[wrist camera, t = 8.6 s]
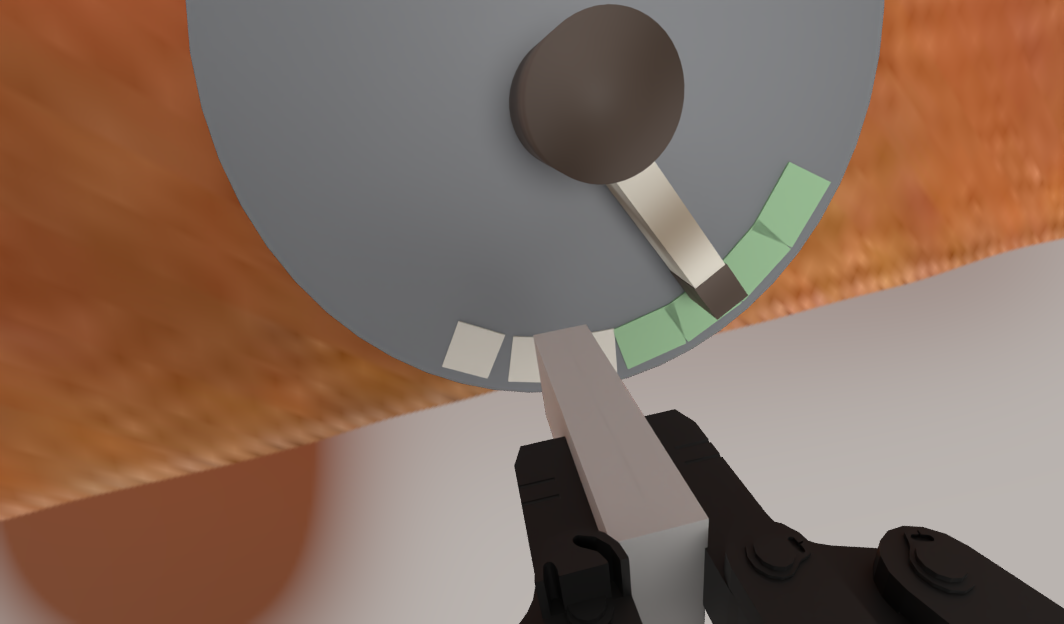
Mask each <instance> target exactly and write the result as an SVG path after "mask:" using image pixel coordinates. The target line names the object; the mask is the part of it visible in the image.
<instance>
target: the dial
mask: <svg viewBox="0 0 1064 624" xmlns="http://www.w3.org/2000/svg"><path fill="white" fill-rule="evenodd" d="M605 4H616V5H623V6H628V7H631V8H634V9H636V10H639V11H641V12H643V13H644V14H646V15H648V16H650V17H651V18H652V19H653V20H655V21H656V22H657V23H658V24H659V25H660V26H661V27H662V28H663V29H664V30H665V31H666V33H667V34H668V36H669V37H670V39H671V40H672V42H673V44H674V46H675V48H676V50H677V52H678V55H679V58H680V61H681V65H682V69H683V74H684V84H685V86H684V103H683V109H682V113H681V117H680V121H679V123H678V126H677V129H676V131H675V133H674V135H673V137H672V139H671V141H670V143H669V144H668V146H667V147H666V149H665V150H664V151H663V153H662V154H661V155H660V156H659V157H658V158H657V159H656V160H655V163H656V164H657V165H658V167H659V168H660V170H661V171H662V173H663V174H664V176H665V177H666V179H667V180H668V182H669V183H670V184H671V186H672V187H673V189H674V190H675V192H676V193H677V195H678V196H679V198H680V199H681V200H682V202H683V203H684V205H685V206H686V208H687V209H688V211H689V212H690V214H691V215H692V217H693V218H694V219H695V221H696V222H697V224H698V225H699V227H700V228H701V230H702V231H703V233H704V234H705V236H706V237H707V238H708V240H709V241H710V243H711V244H712V246H713V247H714V249H715V250H716V252H717V253H718V254H719V256H720V257H721V259H722V260H723V262H724V263H726V264H727V265H728V266H729V268H730V269H731V271H732V272H733V274H734V275H735V277H736V278H737V280H738V281H739V282H740V284H741V285H742V287H743V288H744V290H745V291H746V293H747V294H748V296H747V297H746V298H745V299H743V300H742V301H741V302H739V303H738V304H737V305H736V306H734V307H733V308H732V309H731V310H729V311H728V312H727V313H725V314H724V315H723V316H722V317H720V318H719V319H718V320H717V319H716V318H714V317H713V316H712V315H711V314H709V313H708V312H707V311H706V310H704V309H703V308H702V307H700V306H699V305H698V304H697V303H695V302H694V301H693V300H692V299H691V298H690V297H689V296H688V295H687V293H686V292H685V291H684V289H683V288H682V287H681V285H680V284H679V283H678V281H677V280H676V279H675V277H674V276H673V275H672V273H671V272H670V271H671V270H670V269H669V268H668V266H667V265H666V264H665V262H664V261H663V260H662V258H661V257H660V256H659V254H658V253H657V252H656V250H655V249H654V248H653V246H652V245H651V244H650V242H649V241H648V240H647V238H646V237H645V236H644V234H643V233H642V232H641V231H640V229H639V228H638V227H637V225H636V224H635V223H634V221H633V220H632V219H631V217H630V216H629V215H628V213H627V212H626V211H625V209H624V208H623V207H622V205H621V204H620V203H619V201H618V200H617V199H616V198H615V196H614V195H613V194H612V192H611V191H610V190H609V188H608V187H607V186H606V184H604V185H596V184H588V183H584V182H580V181H577V180H575V179H572V178H570V177H568V176H566V175H564V174H563V173H561V172H559V171H557V170H555V169H554V168H552V167H550V166H548V165H547V164H545V163H543V162H541V161H540V160H538V159H536V158H535V157H534V156H533V155H531V154H530V153H529V152H528V151H527V150H526V149H525V147H524V146H523V145H522V143H521V142H520V140H519V139H518V137H517V135H516V133H515V130H514V128H513V125H512V121H511V117H510V110H509V96H510V88H511V84H512V80H513V77H514V75H515V72H516V70H517V68H518V66H519V64H520V63H521V61H522V60H523V58H524V57H525V56H526V55H527V53H528V52H529V51H530V50H531V49H532V48H533V47H535V46H536V45H537V44H538V43H539V42H540V41H541V40H542V39H543V38H545V37H546V36H547V35H548V34H549V33H550V32H551V31H552V30H554V29H555V28H556V27H557V26H558V25H559V24H561V23H562V22H563V21H564V20H565V19H567V18H568V17H570V16H572V15H573V14H575V13H577V12H579V11H581V10H583V9H586V8H589V7H593V6H596V5H605ZM186 8H187V21H188V33H189V45H190V54H191V59H192V64H193V69H194V73H195V78H196V83H197V88H198V92H199V97H200V102H201V107H202V110H203V113H204V116H205V119H206V122H207V125H208V128H209V131H210V134H211V137H212V140H213V143H214V146H215V149H216V152H217V155H218V158H219V160H220V162H221V164H222V166H223V169H224V171H225V173H226V175H227V177H228V179H229V181H230V183H231V185H232V187H233V189H234V192H235V194H236V196H237V198H238V200H239V202H240V204H241V206H242V208H243V209H244V211H245V212H246V214H247V216H248V217H249V219H250V220H251V222H252V223H253V225H254V227H255V228H256V230H257V231H258V233H259V235H260V236H261V238H262V239H263V241H264V242H265V244H266V246H267V247H268V248H269V249H270V251H271V252H272V253H273V254H274V256H275V257H276V258H277V259H278V261H279V262H280V263H281V264H282V266H283V267H284V268H285V269H286V271H287V272H288V273H289V274H290V275H291V277H292V278H293V279H294V280H295V282H296V283H297V284H298V285H299V286H300V287H301V288H302V289H304V290H305V291H306V292H307V293H308V294H309V295H310V296H311V297H312V298H313V299H314V300H315V301H316V302H317V303H318V304H319V305H320V306H321V307H322V308H323V309H324V310H325V311H326V312H327V313H329V314H330V315H331V316H332V317H334V318H335V319H336V320H338V321H339V322H340V323H341V324H343V325H344V326H345V327H347V328H348V329H349V330H351V331H352V332H353V333H354V334H356V335H357V336H358V337H360V338H362V339H363V340H365V341H367V342H368V343H370V344H372V345H373V346H375V347H377V348H378V349H380V350H382V351H383V352H385V353H387V354H388V355H390V356H392V357H394V358H396V359H398V360H400V361H402V362H405V363H407V364H409V365H411V366H413V367H416V368H418V369H420V370H422V371H425V372H427V373H430V374H433V375H436V376H440V377H443V378H446V379H449V380H452V381H455V382H458V383H462V384H467V385H473V386H478V387H483V388H488V389H493V390H503V391H517V392H542V387H541V381H540V375H539V369H538V362H537V356H536V350H535V344H534V337H533V335H536V334H541V333H546V332H551V331H556V330H560V329H565V328H570V327H575V326H580V325H584V324H586V325H587V326H588V328H589V330H590V331H591V333H592V334H593V336H594V338H595V339H596V341H597V342H598V344H599V345H600V347H601V349H602V350H603V352H604V353H605V355H606V357H607V358H608V360H609V361H610V363H611V364H612V366H613V368H614V369H615V371H616V372H617V374H618V376H619V377H620V379H625V378H629V377H631V376H634V375H637V374H639V373H642V372H644V371H647V370H650V369H652V368H655V367H657V366H660V365H662V364H664V363H666V362H668V361H669V360H672V359H674V358H676V357H678V356H679V355H681V354H683V353H685V352H687V351H689V350H691V349H693V348H694V347H696V346H697V345H699V344H700V343H702V342H703V341H705V340H706V339H708V338H709V337H711V336H712V335H714V334H716V333H717V332H719V331H720V330H721V329H723V328H724V327H725V326H726V325H728V324H729V323H730V322H731V321H732V320H734V319H735V318H736V317H737V316H739V315H740V314H741V313H742V312H744V311H745V310H746V309H747V308H748V307H749V306H750V305H751V304H752V303H753V302H754V301H755V300H756V299H757V298H758V297H759V296H761V295H762V294H763V293H764V292H765V291H766V290H767V289H768V288H769V287H770V286H771V285H772V284H773V283H774V281H775V280H776V279H777V278H778V277H779V275H780V274H781V273H782V272H783V271H784V269H785V268H786V267H787V266H788V265H789V263H790V262H791V261H792V260H793V259H794V257H795V256H796V255H797V254H798V252H799V251H800V249H801V248H802V246H803V245H804V243H805V242H806V241H807V239H808V238H809V236H810V235H811V233H812V232H813V230H814V229H815V227H816V226H817V224H818V223H819V221H820V220H821V218H822V216H823V214H824V212H825V210H826V209H827V207H828V205H829V203H830V201H831V199H832V198H833V196H834V194H835V192H836V190H837V188H838V186H839V185H840V182H841V180H842V178H843V175H844V173H845V171H846V168H847V166H848V163H849V161H850V159H851V156H852V154H853V152H854V149H855V147H856V144H857V141H858V138H859V135H860V132H861V128H862V125H863V122H864V119H865V115H866V112H867V109H868V106H869V103H870V98H871V93H872V88H873V84H874V79H875V74H876V69H877V64H878V59H879V53H880V43H881V33H882V23H883V13H884V0H186Z"/></svg>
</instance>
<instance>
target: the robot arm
mask: <svg viewBox="0 0 1064 624" xmlns="http://www.w3.org/2000/svg"><path fill="white" fill-rule="evenodd" d="M533 337H534V344H535V350H536V356H537V362H538V369H539V375H540V381H541V387H542V393H543V399H544V406H545V412H546V416H547V420H548V422H549V426H550V429H551V432H552V435H553V438H554V439H551V440H547V441H542V442H538V443H533V444H529V445H525V446H521V447H520V450H519V453H518V456H517V460H516V462H515V472H516V477H517V482H518V487H519V493H520V498H521V503H522V509H523V514H524V520H525V524H526V530H527V535H528V541H529V546H530V551H531V557H532V562H533V567H534V573H535V592H534V598H533V601H532V603H531V605H530V608H529V610H528V612H527V614H526V615H525V617H524V618H523V619H522V621H521V622H520V623H519V624H704V622H705V621H704V620H705V610H706V612H707V614H708V616H709V617H710V619H711V621H712V623H713V624H1064V608H1062V607H1061V606H1059V605H1058V604H1056V603H1055V602H1053V601H1052V600H1050V599H1049V598H1047V597H1046V596H1044V595H1043V594H1041V593H1039V592H1038V591H1036V590H1035V589H1033V588H1032V587H1030V586H1029V585H1027V584H1026V583H1024V582H1023V581H1021V580H1020V579H1018V578H1016V577H1015V576H1013V575H1012V574H1010V573H1009V572H1007V571H1006V570H1004V569H1003V568H1001V567H999V566H998V565H997V564H995V563H994V562H992V561H991V560H989V559H988V558H986V557H984V556H983V555H981V554H980V553H978V552H977V551H975V550H974V549H972V548H971V547H969V546H967V545H965V544H964V543H962V542H960V541H958V540H956V539H954V538H952V537H950V536H948V535H947V534H944V533H941V532H938V531H934V530H931V529H927V528H924V527H913V526H901V527H898V528H895V529H892V530H889V531H887V533H886V534H885V535H884V536H883V538H882V539H881V540H880V543H879V546H878V548H864V547H847V546H831V545H824V544H818V543H814V542H811V541H808V540H807V539H806V538H805V537H803V536H802V535H801V534H800V533H799V532H797V531H795V530H793V529H791V528H789V527H787V526H786V525H784V524H782V523H778V522H774V521H773V520H772V519H771V518H770V517H769V516H768V515H767V514H766V512H765V511H764V510H763V509H762V507H761V506H760V505H759V504H758V502H757V501H756V500H755V499H754V497H753V496H752V495H751V493H750V492H749V491H748V490H747V488H746V487H745V486H744V484H743V483H742V482H741V480H740V479H739V478H738V477H737V475H736V474H735V473H734V471H733V470H732V469H731V468H730V466H729V465H728V464H727V462H726V461H725V460H724V459H723V457H720V454H719V452H718V451H717V450H716V448H715V447H714V446H713V444H712V443H711V442H710V443H709V441H708V438H707V437H706V436H705V434H704V433H703V432H702V430H701V429H700V428H699V426H698V425H697V424H696V423H695V422H694V421H693V420H691V419H690V418H688V417H686V416H685V415H683V414H681V413H680V412H678V411H677V410H675V409H674V410H670V411H666V412H661V413H657V414H652V415H648V416H644V415H643V414H642V412H641V411H640V409H639V407H638V406H637V404H636V402H635V401H634V399H633V398H632V396H631V395H630V393H629V391H628V390H627V388H626V387H625V385H624V383H623V382H622V380H621V379H620V377H619V376H618V374H617V372H616V371H615V369H614V368H613V366H612V364H611V363H610V361H609V360H608V358H607V357H606V355H605V353H604V352H603V350H602V349H601V347H600V345H599V344H598V342H597V341H596V339H595V338H594V336H593V334H592V333H591V331H590V330H589V328H588V326H587V325H586V324H584V325H580V326H575V327H570V328H565V329H560V330H556V331H551V332H546V333H541V334H536V335H533Z"/></svg>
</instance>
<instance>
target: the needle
mask: <svg viewBox="0 0 1064 624" xmlns="http://www.w3.org/2000/svg"><path fill="white" fill-rule="evenodd" d="M684 86H685V84H684V74H683V69H682V65H681V61H680V58H679V55H678V52H677V50H676V48H675V46H674V44H673V42H672V40H671V39H670V37H669V36H668V34H667V33H666V31H665V30H664V29H663V28H662V27H661V26H660V25H659V24H658V23H657V22H656V21H655V20H653V19H652V18H651V17H650V16H648V15H646V14H644V13H643V12H641V11H639V10H636V9H634V8H631V7H628V6H623V5H616V4H605V5H596V6H593V7H589V8H586V9H583V10H581V11H579V12H577V13H575V14H573V15H572V16H570V17H568V18H567V19H565V20H564V21H563V22H562V23H561V24H559V25H558V26H557V27H556V28H555V29H554V30H552V31H551V32H550V33H549V34H548V35H547V36H546V37H545V38H543V39H542V40H541V41H540V42H539V43H538V44H537V45H536V46H535V47H533V48H532V49H531V50H530V51H529V52H528V53H527V55H526V56H525V57H524V58H523V60H522V61H521V63H520V64H519V66H518V68H517V70H516V72H515V75H514V77H513V80H512V84H511V88H510V96H509V110H510V117H511V121H512V125H513V128H514V130H515V133H516V135H517V137H518V139H519V140H520V142H521V143H522V145H523V146H524V147H525V149H526V150H527V151H528V152H529V153H530V154H531V155H533V156H534V157H535V158H536V159H538V160H540V161H541V162H543V163H545V164H547V165H548V166H550V167H552V168H554V169H555V170H557V171H559V172H561V173H563V174H564V175H566V176H568V177H570V178H572V179H575V180H577V181H580V182H584V183H588V184H596V185H604V184H606V186H607V187H608V188H609V190H610V191H611V192H612V194H613V195H614V196H615V198H616V199H617V200H618V201H619V203H620V204H621V205H622V207H623V208H624V209H625V211H626V212H627V213H628V215H629V216H630V217H631V219H632V220H633V221H634V223H635V224H636V225H637V227H638V228H639V229H640V231H641V232H642V233H643V234H644V236H645V237H646V238H647V240H648V241H649V242H650V244H651V245H652V246H653V248H654V249H655V250H656V252H657V253H658V254H659V256H660V257H661V258H662V260H663V261H664V262H665V264H666V265H667V266H668V268H669V269H670V270H671V271H670V272H671V273H672V275H673V276H674V277H675V279H676V280H677V281H678V283H679V284H680V285H681V287H682V288H683V289H684V291H685V292H686V293H687V295H688V296H689V297H690V298H691V299H692V300H693V301H694V302H695V303H697V304H698V305H699V306H700V307H702V308H703V309H704V310H706V311H707V312H708V313H709V314H711V315H712V316H713V317H714V318H716V319H717V320H718V319H719V318H720V317H722V316H723V315H724V314H725V313H727V312H728V311H729V310H731V309H732V308H733V307H734V306H736V305H737V304H738V303H739V302H741V301H742V300H743V299H745V298H746V297H747V296H748V294H747V293H746V291H745V290H744V288H743V287H742V285H741V284H740V282H739V281H738V280H737V278H736V277H735V275H734V274H733V272H732V271H731V269H730V268H729V266H728V265H727V264H726V263H724V262H723V260H722V259H721V257H720V256H719V254H718V253H717V252H716V250H715V249H714V247H713V246H712V244H711V243H710V241H709V240H708V238H707V237H706V236H705V234H704V233H703V231H702V230H701V228H700V227H699V225H698V224H697V222H696V221H695V219H694V218H693V217H692V215H691V214H690V212H689V211H688V209H687V208H686V206H685V205H684V203H683V202H682V200H681V199H680V198H679V196H678V195H677V193H676V192H675V190H674V189H673V187H672V186H671V184H670V183H669V182H668V180H667V179H666V177H665V176H664V174H663V173H662V171H661V170H660V168H659V167H658V165H657V164H656V163H655V160H656V159H657V158H658V157H659V156H660V155H661V154H662V153H663V151H664V150H665V149H666V147H667V146H668V144H669V143H670V141H671V139H672V137H673V135H674V133H675V131H676V129H677V126H678V123H679V121H680V117H681V113H682V109H683V103H684Z"/></svg>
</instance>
